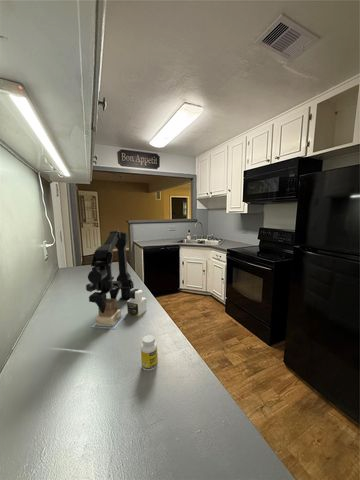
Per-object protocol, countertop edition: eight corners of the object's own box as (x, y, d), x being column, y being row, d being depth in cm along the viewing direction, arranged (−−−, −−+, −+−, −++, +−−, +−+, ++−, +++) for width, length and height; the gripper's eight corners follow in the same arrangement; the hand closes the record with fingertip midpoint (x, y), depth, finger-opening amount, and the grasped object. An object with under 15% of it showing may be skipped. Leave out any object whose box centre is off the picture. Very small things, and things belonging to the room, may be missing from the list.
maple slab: (106, 316, 100) (105, 308, 99) (121, 317, 98) (120, 309, 98) (96, 325, 92) (96, 317, 91) (112, 326, 91) (112, 318, 90)
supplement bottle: (150, 373, 64) (149, 345, 63) (138, 367, 67) (136, 340, 66) (161, 362, 69) (159, 336, 67) (149, 357, 71) (147, 331, 70)
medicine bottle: (127, 314, 102) (125, 291, 101) (136, 308, 109) (135, 286, 107) (138, 317, 99) (136, 294, 97) (147, 310, 105) (145, 288, 104)
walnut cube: (106, 309, 98) (105, 298, 97) (117, 310, 97) (116, 298, 96) (99, 316, 92) (98, 303, 91) (111, 317, 91) (110, 304, 90)
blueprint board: (104, 315, 102) (104, 313, 102) (126, 316, 100) (126, 315, 100) (90, 328, 91) (90, 327, 90) (114, 330, 88) (114, 329, 88)
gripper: (100, 269, 103) (103, 298, 105) (75, 282, 84) (79, 317, 87) (121, 270, 101) (123, 299, 103) (99, 283, 82) (103, 318, 85)
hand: (108, 307), depth 94 cm, fingers open, 9 cm apart
